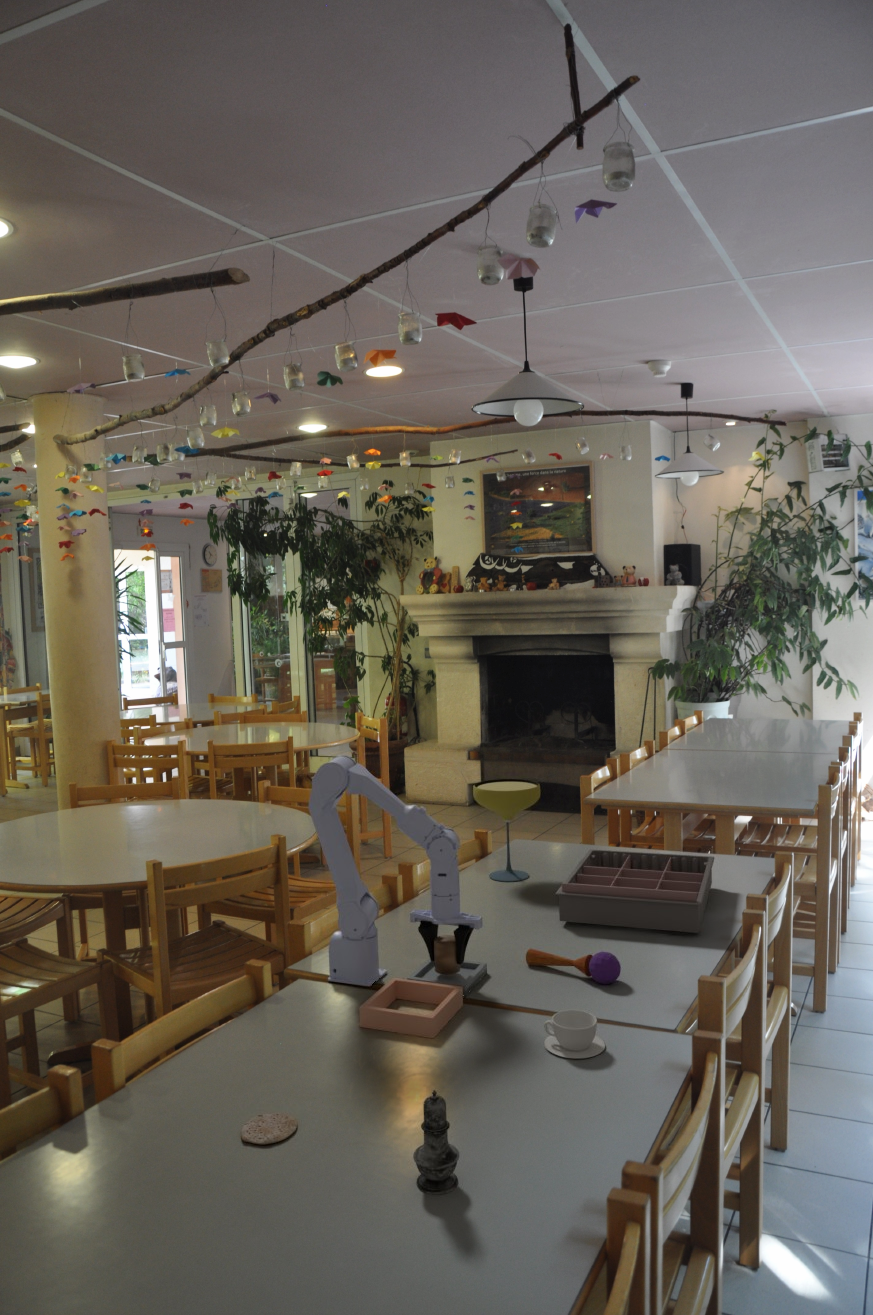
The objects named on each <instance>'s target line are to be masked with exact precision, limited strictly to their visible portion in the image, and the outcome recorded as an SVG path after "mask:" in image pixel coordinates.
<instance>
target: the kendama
mask: <svg viewBox="0 0 873 1315" xmlns="http://www.w3.org/2000/svg"><path fill="white" fill-rule="evenodd" d="M525 961H526V964H527V965H528V966H546V967H548V966H550V967H574V968H575V969H577V970H578V971H579V972H581V974H584V975H585V976H586V977H588V978H590V977H592V979H593V980H594V981H595V982H597V983H598V984H601V985H610V984H612V983H613V984H614V983H615V982H616V981H617V980H618V979H619V977H620V974H621V969H622V968H621V962H620V961H619V959H618V958H617V956H616V955H614V954H612V953H611V952H608V951H599V952H596V953H595V954H588V955H584V956H583V957H580V958H578V959H575V960H574V959H571V958H566V957H563V956H560V955H556V954H553V953H549V952H546V951H545V952H544V951H542V950H538V949H534V948H529V949H528V950H527V951H526V954H525Z"/></svg>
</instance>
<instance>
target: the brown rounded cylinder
mask: <svg viewBox="0 0 873 1315" xmlns="http://www.w3.org/2000/svg"><path fill="white" fill-rule="evenodd" d="M434 961H435V972H437V973H439V974H445V975H449V974H455V973H457V972H459V971H460V964H457V960H456V941H455V936H454V934H453V935H451V934H444V935H443V934H442V935H438V936H437V937H436V938H435V939H434Z"/></svg>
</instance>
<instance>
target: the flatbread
mask: <svg viewBox="0 0 873 1315" xmlns="http://www.w3.org/2000/svg"><path fill="white" fill-rule="evenodd" d="M297 1128H298V1120H297V1119H296V1118H294V1117H293V1116H291V1115H289V1114H286V1113H284V1112H271V1113H264V1114H260V1115H256V1116H254V1117H252V1118H251V1119H250V1120H249V1121H247V1122H246V1123H245V1124H244V1125H243V1127H242V1128H241V1130H240V1135H241V1140H242V1141H244V1142H245V1143H250V1144H255V1145H269V1144H270V1145H271V1144H275V1143H279V1142H282V1141H284V1140H286V1139H288V1138H289V1137H290V1136H291V1135H293V1134H294V1133H295V1132H296V1130H297Z"/></svg>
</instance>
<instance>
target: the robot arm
mask: <svg viewBox="0 0 873 1315" xmlns="http://www.w3.org/2000/svg"><path fill="white" fill-rule="evenodd" d="M311 784H312V786H311V790H310V796H309V800H308V805H307V806H308V811H309V812H308V813H309V815H310V817H311V819H312V822H313V825H314V829H315V832H316V834H317V837H318V840H319V843H320V844H319V845H320V847H321V850H322V852H323V855H324V857H325V860H326V864H327V867H328V869H329V872H330V875H331V879H332V881H333V884H334V887H335V889H336V904H335V905H336V909H337V913H338V918H337V926H338V929H339V930H336V931H334V932H333V934H331V937H330V938H329V942H328V961H329V962H328V967H329V968H328V969H329V971H328V972H329V977H327V981H328V982H334V983H341V984H342V983H343V984H346V985H347V984H348V985H356V986H362V987H372V984H373V983H374V982H375V981H376V982H377V981H379V980H380V979H381V978H382V977H384V976H385V974H387V973H388V970H387V969H386V968H385V969H383V968H380V965H379V957H380V956H379V935H378V933H379V930H378V928H377V926H376V923H375V921H376V920H377V918H378V916H379V914H380V905H379V903H378V901H377V899H376V898H374V896H373V895H372V894H371V892H370V890H369V888H368V886H367V884H365V883H364V882H363V881H362V879H361V876H360V873H359V870H358V867H357V864H356V862H355V859H354V856H353V852H352V850H351V847H350V844H349V841H348V838H347V836H346V833H345V829H344V827H343V824H342V821H341V818H340V815H339V811H338V809H337V806H338V804H339V802H340V800H341V798H342V796H344V795H343V794H344V793H345V794H346V795H362V796H364V797H366V798H367V799H368V800H370V801H371V802H373V803H374V804H376V805H377V806H378V807H380V808H381V809H382V810H384V811H385V812H386V813H388V814H389V815H391V816H392V817H393V818H395V821H396V828H397V829H398V830H399V831H400V832H402V834H404V835H405V836H406V837H408V838H409V839H410V840H412V841H413V842H414V843H415V844H416V845H418V846H419V847H420V848H422V849H424V850H425V853H426V856H427V858H428V859H429V862H430V863H429V864H430V867H429V868H430V869H429V884H430V887H429V889H430V909H413V910H412V911H411V912H409V922H410V923H412V924H413V923H414V924H415V923H420V924H419V926H418V927H417V930H418V932H419V935H420V936H421V938H422V940H423V941H424V944H425V946H426V949H427V952H428V957H429V958H430V960H431V961H434V939H435V938H436V937H438V936H439V935H438V934H439V926H441V925H446V926H453V927H455V926H456V927H457V928H455V930H453V936H455V941H456V960H457V964H462V963H463V962H464V960H465V956H466V951H467V946H468V943H469V941H470V937H471V935H472V934H473V931H474V930H480V929H482V928H483V926H484V925H483V923H484V922H483V916H480V915H473V914H469V913H466V912H462V911H461V895H460V893H461V890H460V868H459V857H458V855H457V854H458V851H459V850H460V847H461V846H460V845H461V841H460V838H459V835H458V834H457V833H456V832H455V831H454V829H453V828H451V827H446V825H445V824H444V823H442V822H441V823H439V822H438V821H436V820H435V819H434V818H433V817H431V816H430V815H429V814H428V813H426V812H427V809H426V807H424V806H423V805H421V806H418V805H416V804H408V805H407V804H405V802H404V801H402V799H400V798H399V797H398V796H397V795H395V794H394V793H393V792H392V790H390V789H389V788H388V787H386V786H385V785H384V784H383V783H382V782H381V781H380V780H379V779H378V778H376V777H375V776H374V775H373V774H372V773H371V772H370V771H369V770H368V769H367V768H366V767H365V766H364V765H362V763H361V764H360V763H357V762H356V760H355V759H353V758H352V757H351V756H349V755H346V754H340V755H337V756H335V757H333V758H332V759H331V760H329V761H327V762H324V763H323V764H322V765H320V766H319V767H318V769H317V770H316V772H315V774H314V775H313V777H312V779H311ZM345 791H346V792H345ZM379 978H380V979H379ZM376 982H375V983H376ZM375 983H374V984H375Z"/></svg>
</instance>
